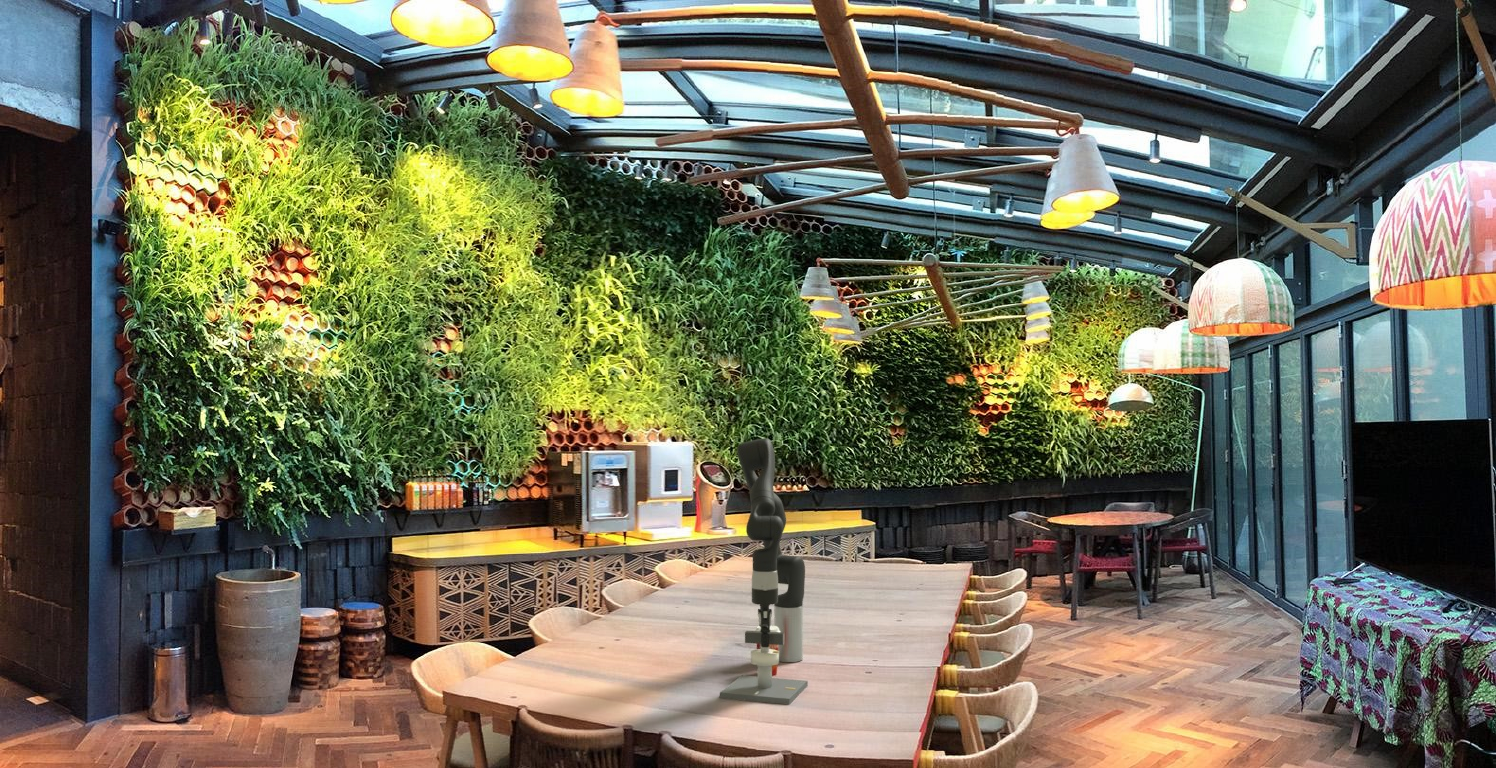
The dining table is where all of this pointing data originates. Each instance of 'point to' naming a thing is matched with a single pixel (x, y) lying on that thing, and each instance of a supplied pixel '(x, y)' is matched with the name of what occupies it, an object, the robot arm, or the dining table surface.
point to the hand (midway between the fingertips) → (764, 643)
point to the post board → (764, 688)
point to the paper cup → (771, 646)
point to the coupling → (765, 648)
